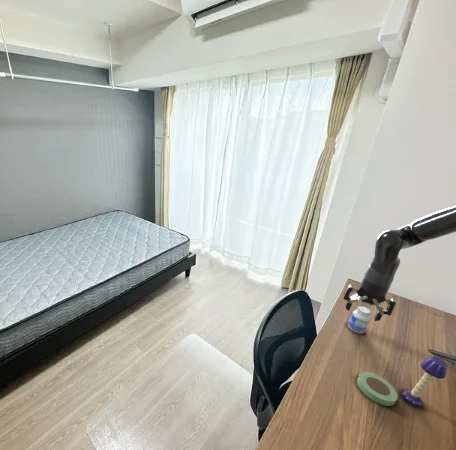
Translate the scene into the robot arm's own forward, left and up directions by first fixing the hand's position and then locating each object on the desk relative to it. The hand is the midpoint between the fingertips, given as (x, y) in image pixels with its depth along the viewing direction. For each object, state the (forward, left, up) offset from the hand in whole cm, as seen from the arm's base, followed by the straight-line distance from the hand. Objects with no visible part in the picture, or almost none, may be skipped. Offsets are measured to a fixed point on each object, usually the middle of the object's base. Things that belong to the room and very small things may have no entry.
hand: (361, 314), depth 95 cm
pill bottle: (0, 0, -7) cm, 7 cm away
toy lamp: (-14, +25, -7) cm, 29 cm away
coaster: (-5, +28, -7) cm, 29 cm away
